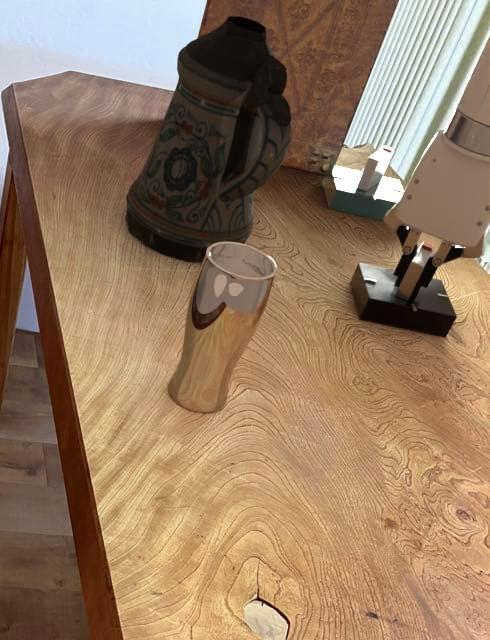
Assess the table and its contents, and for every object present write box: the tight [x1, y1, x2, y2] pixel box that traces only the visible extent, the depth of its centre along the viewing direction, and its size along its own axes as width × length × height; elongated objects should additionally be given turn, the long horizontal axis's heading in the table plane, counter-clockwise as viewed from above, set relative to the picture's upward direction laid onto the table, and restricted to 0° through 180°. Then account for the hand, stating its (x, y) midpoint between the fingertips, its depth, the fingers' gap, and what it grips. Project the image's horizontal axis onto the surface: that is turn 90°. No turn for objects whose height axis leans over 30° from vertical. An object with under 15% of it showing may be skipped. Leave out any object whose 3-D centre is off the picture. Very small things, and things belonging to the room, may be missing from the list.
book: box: [197, 0, 400, 176], centre depth 131 cm, size 25×9×30 cm, turn 82°
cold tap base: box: [321, 165, 405, 222], centre depth 133 cm, size 11×11×3 cm
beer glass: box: [167, 241, 278, 414], centre depth 85 cm, size 7×7×15 cm
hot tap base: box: [349, 262, 458, 339], centre depth 110 cm, size 11×11×3 cm
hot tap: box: [395, 242, 435, 301], centre depth 108 cm, size 6×2×5 cm, turn 152°
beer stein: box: [125, 16, 292, 264], centre depth 107 cm, size 16×19×25 cm
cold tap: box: [357, 145, 395, 191], centre depth 130 cm, size 6×2×5 cm, turn 146°
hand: (408, 285), depth 109 cm, fingers closed on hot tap
